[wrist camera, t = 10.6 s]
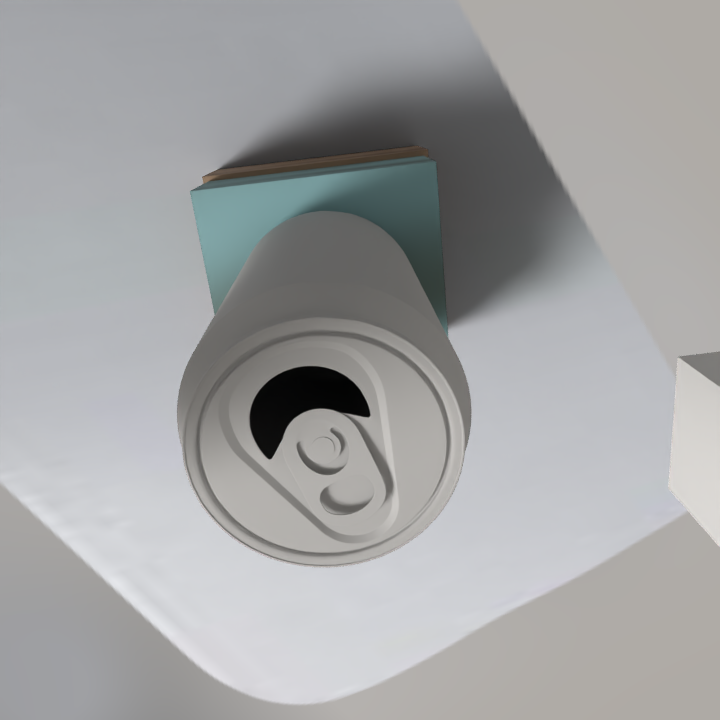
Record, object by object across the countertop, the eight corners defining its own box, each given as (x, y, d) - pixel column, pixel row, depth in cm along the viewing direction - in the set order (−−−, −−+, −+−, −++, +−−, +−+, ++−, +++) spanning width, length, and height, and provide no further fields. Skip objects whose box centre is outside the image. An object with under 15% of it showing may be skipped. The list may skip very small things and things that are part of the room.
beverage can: (372, 176, 23) (409, 238, 11) (440, 335, 25) (529, 518, 14) (210, 253, 23) (95, 383, 12) (290, 400, 25) (256, 626, 14)
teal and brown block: (217, 169, 29) (183, 185, 22) (417, 145, 29) (441, 154, 22) (251, 356, 32) (230, 419, 26) (431, 335, 32) (457, 392, 26)
